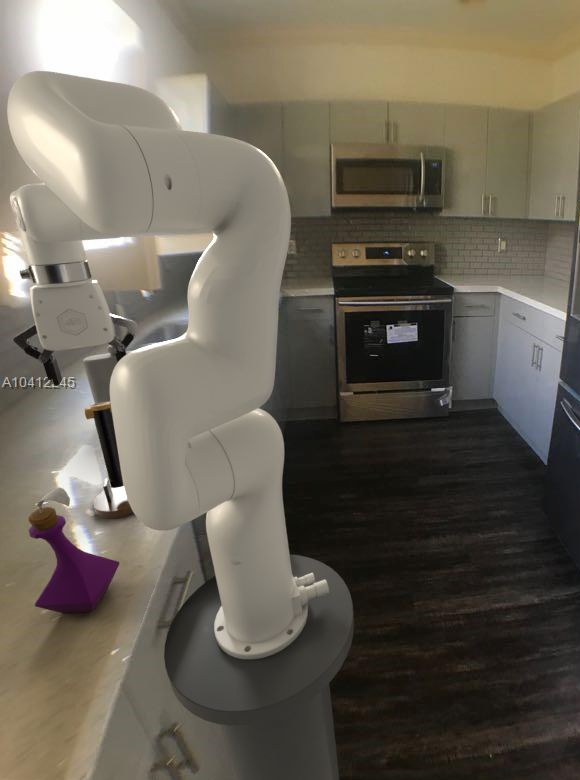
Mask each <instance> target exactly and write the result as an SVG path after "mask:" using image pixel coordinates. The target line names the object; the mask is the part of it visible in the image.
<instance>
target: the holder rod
mask: <svg viewBox="0 0 580 780" xmlns="http://www.w3.org/2000/svg"><path fill="white" fill-rule="evenodd" d="M84 416H85V419H86V420H91V419H93V421H94V424H95V428H96V432H97V436H98V441H99V445H100V447H101V448H100V449H101V453H102V456H103V461H104V464H105V469H106V473H107V478H108V480H109V483H110V486H111V488H118V487H122V486H124V484H123V479H122V474H121V467H120V461H119V454H118V448H117V442H116V435H115V429H114V422H113V416H112V410H111V402H102V403H97V404H95V403H94V404H91V405H90V406H89V407H86V408H84Z"/></svg>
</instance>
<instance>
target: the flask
mask: <svg viewBox="0 0 580 780" xmlns="http://www.w3.org/2000/svg"><path fill="white" fill-rule="evenodd" d="M106 350H107V353H99V354H95V355H90V356H87V357H85V358H83V360H82V364H83V367H84V370H85V373H86V377H87V381H88V385H89V387H90V392H91V394H92V399H93V403H94V404H97V403H102V402H110V380H111V376H112V373H113V370H114V368H115V366H116V364H117V363H118V362H117V358H116V354H115V353H116V349H115V348H114V347H113V346H111V345H110V344H108V346H106ZM132 351H134V349H133V350H126V354H128V353H130V352H132Z"/></svg>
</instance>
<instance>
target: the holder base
mask: <svg viewBox="0 0 580 780" xmlns="http://www.w3.org/2000/svg"><path fill="white" fill-rule="evenodd" d="M102 488H103V490H102V491H101V492H100V493H98V494H97V495H96V497H95V498H94V499H93V501H92V506H93V510H94V513H95V515H96V516H98V517H100V518H103V519H119V518H123V517H127V516H130V515H133V514H134V512H133V510H132V509H131V506H130V504H129V502H128V499H127V496H126V492H125V489H124V486H122V487H118V488H111V486H110V482H109V478H108V477H105V478H104V479H103V485H102Z"/></svg>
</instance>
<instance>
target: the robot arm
mask: <svg viewBox="0 0 580 780" xmlns="http://www.w3.org/2000/svg"><path fill="white" fill-rule="evenodd" d="M6 113H7V123H8V128H9V132H10V136H11V138H12V141H13V143H14V145H15V147H16V150H17V152H18V154H19V155H20V156H21V159H23V162H24V163H25V164H26V165H27V166H28V167H29V169H30V170H31V171H32V172H33V174H34V175H35V176H36V177H37V178H38V179H39V180H40V181H41V182H42V183H29V184H24V185H21V186H19V188H18V189H15V190H13V191H12V192H11V193H10V195H9V203H10V207H11V210H12V213H13V217H14V219H15V223H16V226H17V230H18V233H19V236H20V240H21V242H22V246H23V249H24V252H25V255H26V259H27V262H28V267H27V268H25V269H20V270H19V275H20V278H21V279H22V280H31V282H32V283H33V284H35V285H32V286H31V287H29V298H30V305H31V310H32V317H33V321H34V324H33V325H32V326H30V327H28V328H27V329H25V330H23V331H21V332H20V333H18V334H17V335H15V336H14V337H13V339H12V340H13V342H14V343H15V344H16V345H17V346H18V347H19V348H20V349H21V350H23V351H24V353H25V354H26V355H28V356H30V357H32V358H33V359H36V360H38V362H39V363H41V364H42V365H43V368H44V372H45V374H46V378H47V380H48V381H52V384H53V386H54V387H55V386H59V385H61V382H62V381H63V377H62V373H61V371H60V367H59V364H58V361H57V358H55V357H53V353H54V352H55V351H58V352H59V351H65V350H73V349H80V348H81V349H82V348H88V347H96V346H102V345H106V344H108V345H111V346H113V347H114V348H115V349H116V353H115V354H116V358H117V362H118V363H117V364H116V366H115V368H114V370H113V373H112V376H111V380H110V402H111V410H112V416H113V422H114V429H115V435H116V442H117V448H118V454H119V461H120V467H121V474H122V479H123V484H124V489H125V492H126V496H127V499H128V502H129V504H130V506H131V509H132V510H133V512H134V513H133V514H134V515H135V517H136V518H137V520H138V521H140V522H141V523H142V524H143V525H144V526H145V527H147V528H149V529H151V530H155V531H165V532H166V531H170V530H174V529H177V528H180V527H182V526H184V525H187V524H188V523H190V522H192V521H193V520H195V519H197V518H199V517H201V516H203V515H204V514H206V517H205V531H206V536H207V542H208V546H209V551H210V556H211V560H212V565H213V570H214V571H213V572H214V576H215V575H216V580H217V585H218V590H219V594H220V599H221V604H222V606H221V607H220V609H219V611H218V613H217V615H216V619H215V622H214V632H215V637H216V640H217V643H218V645H219V646H220V647H221V649H222V650H223V651H224V652H226V653H227V654H228V655H231V656H233V657H235V658H240V659H259V658H264V657H267V656H270V655H273V654H275V653H277V652H279V651H281V650H283V649H284V648H285V647H287V646H288V645H290V644H291V643H292V642H293V641H294V640H295V639H296V638H297V637H298V635H299V634H300V633H301V631H302V630H303V628H304V626H305V624H306V620H307V617H308V606H307V604H308V600H310V599H312V598H315V597H320V596H322V595H325V594H328V593H329V588H328V584H327V581H326V580H322V581H319V582H317V583H314V584H313V585H311V586H308V587H304V585H308V584H311V583H313V582H315V578H314V575H313V573H310V574H307V575H305V576H303V577H300V578H298V579H297V577H294V578H293V575H292V570H291V562H290V555H291V554H290V548H289V540H288V533H287V525H286V516H285V507H284V500H283V499H284V498H283V496H284V495H283V474H284V464H285V441H284V436H283V433H282V429H281V427H280V425H279V424H278V422H277V421H276V419H275V418H274V417H273V416H272V415H271V414H270V413H269V412H268V411H266V410H264V409H262V408H261V407H263V405H265V404H266V403H267V401H269V400H270V398H271V396H272V393H273V391H274V386H275V379H276V368H277V367H276V366H277V365H276V363H277V348H278V330H279V329H278V328H279V303H280V302H279V301H280V292H281V285H282V280H283V274H284V270H285V266H286V261H287V256H288V251H289V247H290V240H291V229H292V226H291V225H292V213H291V212H292V211H291V204H290V198H289V194H288V190H287V187H286V184H285V182H284V179H283V177H282V175H281V173H280V171H279V169H278V167H277V166H276V165H275V163H274V161H272V159H271V158H270V157H269V156H268V155H267V154H266V153H265V152H263V151H262V150H261V149H259V148H258V147H256V146H254V145H252V144H251V143H248V142H247V141H244V140H240V139H237V138H234V137H230V136H226V135H221V134H215V133H210V132H209V133H207V132H202V131H201V132H199V131H190V130H183V127H182V124H181V122H180V119H179V118H178V115H177V114H176V113H175V111H174V110H173V109H172V108H171V106H170V105H168V103H166V102H165V101H164V100H163V99H162V98H160V97H159V96H157V95H156V94H154V93H153V92H151V91H148V90H147V89H144V88H141V87H138V86H135V85H131V84H129V83H128V84H126V83H122V82H116V81H110V80H109V81H108V80H103V79H97V78H93V77H92V78H91V77H87V76H79V75H75V74H68V73H62V72H56V71H47V70H34V71H30V72H27V73H24V74H23V75H21V76H20V77H18V79H16V81H15V82H14V83H13V85H12V86H11V89H10V91H9V94H8V99H7V108H6ZM208 232H211V233H212V234H213V239H212V241H211V243H210V244H209V245H208V246H207V247H206V248H205V250H204V251H203V253H202V254H201V256H200V258H199V259H198V261H197V263H196V265H195V268H194V269H193V272H192V274H191V277H190V280H189V282H188V285H187V286H188V287H187V311H188V325H187V329H186V331H185V332H184V333H183V334H182V335H181V336H179V337H177V338H174V339H169V340H165V341H162V342H161V341H160V342H158V343H154V344H149V345H146V346H143V347H140V348H138V349H135V350H134V349H133V350H134V351H133V350H131V351H132V352H130V353H128V354H126V351H127V348H128V347H129V346H130V344H132V342H133V341H134V338H135V335H136V333H137V330H138V326H139V325H138V322H137V321H135V320H132V319H129V318H125V317H122V316H119V315H115V314H112V313H111V310H110V307H109V305H108V303H107V299H106V297H105V294H104V292H103V290H102V288H101V285H100V284H99V281H98V280H97V279H93V277H92V273H91V270H90V267H89V262H88V258H87V255H86V251H85V247H84V244H83V241H93V240H110V239H118V238H140V237H154V236H166V235H167V236H168V235H183V234H192V233H208ZM115 325H117V326H120V327H124V328H126V329H127V331H126V334H125V335H124V336H123V338H120V337H119V336H117V335H116V328H115ZM36 335H37V337H38V340H39V343H40V345H41V347H42V348H43V349H41V348H39V346H36V345H34V344H33V343H32V342H31V341H30V340H29V339H31V338H32V337H34V336H36Z"/></svg>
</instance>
